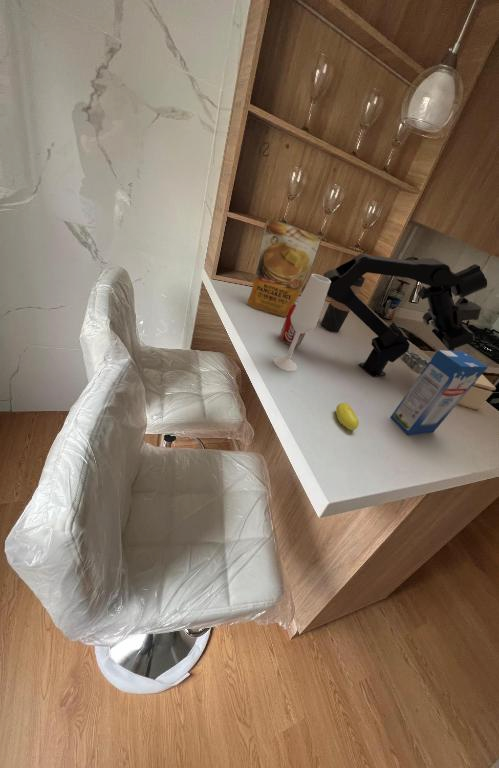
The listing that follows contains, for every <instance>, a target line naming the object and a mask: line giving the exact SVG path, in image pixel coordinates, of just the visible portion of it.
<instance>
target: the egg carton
mask: <svg viewBox="0 0 499 768" xmlns="http://www.w3.org/2000/svg"><path fill="white" fill-rule="evenodd" d="M400 359H401V360H403V361H405V362H406V365H408V366H410V367H412V370H413V371H415V372H417V373H419V374H421V373H422V372H423V370H424V369H425V368H426V366H427V365H428V363H429V362H430V361H429V360H428V359H425V358H424V357H422V355H418V353H417V352H416V351H414V350H411V349H408V351H407V352H406V353H405V354H403V355H401V356H400Z"/></svg>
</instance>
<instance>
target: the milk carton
mask: <svg viewBox="0 0 499 768" xmlns="http://www.w3.org/2000/svg"><path fill="white" fill-rule="evenodd" d="M428 362H429V363H428V365H427V366H426V368H425V369H424V370H423V372H421V373H420V375H419V376H418V378H417V379H416V380H415V381H414V383H413V385H412V386H411V387H410V389H409V390H408V391H407V393H406V394H405V395H404V397H403V399H402V400H401V401H400V403H399V404H398V406H397V407H396V408H395V410H394V412H392V414H391V416H390V419H391V420H392V421H393V422H394V423H395V424H396V425H397V426H398V427H399V428H400V429H401V430H402V431H403V433H405V434H406V435H407V436H413V435H420V434H421V435H422V434H431V433H434V432H435V431H436V430H437V429H438V427H439V426H440V425H441V424H442V423H443V421H445V419H446V418H447V416H448V415H449V414H450V413H451V412H452V411H453V409H454V408H456V406H457V404H458V402H459V401H460V400H461V399H462V398H463V396H464V395H465V394H466V393H467V392H468V390H469V389H470V388H471V387H472V386H473V384H474V383H475V382H476V381H477V380H478V378H479V377H480V376H481V375H484V373H485V371H486V370H487V369H489V368H488V367H489V366H487V365H485V364H483V363H482V362H480V361H479V360H478V359H476V358H474V356H472V355H470V354H468V353H467V352H465V351H458V350H454V351H449V350H448V349H447V350H445V349H437V351H436V352H435V354H434V355H433V356H432V358H431V359H430V360H429V361H428Z"/></svg>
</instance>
